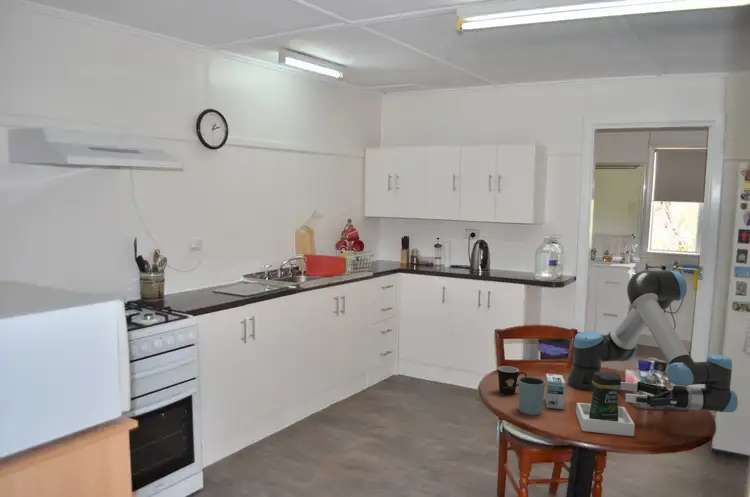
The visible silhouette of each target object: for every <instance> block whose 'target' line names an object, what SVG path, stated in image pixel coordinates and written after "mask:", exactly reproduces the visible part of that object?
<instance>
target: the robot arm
mask: <svg viewBox="0 0 750 497" xmlns="http://www.w3.org/2000/svg"><path fill="white" fill-rule="evenodd" d="M626 288H627V289H626V293H627V297H628V301H629V303H630V304H631V307H632V309H631V310H630V311H629V312H628V314H627V315H626V316H625V318H624V319H623V320H622V321H621V323H620V324H619V325H618V326H616V327H613V328H611V330H610V331H609V332H608V333H607V334H603V333H602V332H599V331H594V330H593V331H591V330H589V331H587V330H586V331H581V332H578V333H577V334H575V337H574V338H573V340H574V341H573V355H572V356H573V357H572V367H571V369H570V372H569V375H568V377H567V385H569V386H570V387H572V388H574V389H578V390H581V391H582V390H583V391H588V392H589V391H590V392H591V391H592V392H593V384H592V378H593V374H594V372H602V362H603V363H605V362H606V363H607V362H608V363H611V362H627V361H630V360H632V359H634V357H635V356H636V354H637V349H638V343H637V339H638V337H639V336H641V335H642V333H643V332H644V331H645V329H646V328H647V329H648V330H649V332H650V334H651V335H652V337H653V339H654V341H655V342H656V344H657V345H658V347H659V349H660V350H661V352H662V355H663V356H664V358H665V360H666V361H667V363H668V366H667V369H666V374H667V377H668V380H669V381H670V382H671V383H672V384H673V385H674V386H672V389H668V387H667V386H665V385H658V384H654V383H653V384H652V383H649V382H648V383H646V382H643V381H637V383H635V382H626V381H625V382H624V381H621V387H620V389H619V391H620V390H621V391H622V390H623V391H629V392H630V391H631V392H636V393H638V392H643V393H646V394H645V395H643V394H635V393H634V394H633V393H625V400H624V401H625V403H633V404H635V403H637V404H644V405H645V404H646V405H649V406H650V407H656V408H657V407H668V406H671V407H672V406H673V407H674V408H678V409H679V408H680V409H686V408H687V409H689V410H693V411H696V410H700V411H701V410H702V411H709V412H710V411H711V412H718V413H734V412H735V411H737V409H738V404H739V401H738V394H737V393H736V392H735V391H734V390H731V385H732V382H731V381H732V372H733V360H732V358H730V357H729V356H726V355H724V354H723V355H722V354H716V353H715V354H714V353H713V354H709V355H707V357H706V361H694V359H693V357H692V356H691V355H690V353H689V351H688V350H687V348H686V346H685V344H684V343H683V341H682V340H681V338H680V335H678V333H677V331H676V329H675V328H674V327H673V325H672V323H671V321H670V320H669V317H667V315H666V314H665V312H664V310H666V309H667V308H669V307H670V305H671V304H672V303H673V302H674V301H676V302H677V301H681V300H683V299H684V298H685V297H686V295H687V293H688V286H687V281H686V278H685V276H683V274H682V273H680V272H679V271H676V270H671V269H670V270H642V271H641V270H640V271H639V272H636V273H634V275H632V276H631V278H630V279H629V281H628V284H627V287H626ZM690 385H691V386H690ZM693 385H704V386H705V387H698V386H696V387H695V386H693ZM686 386H687V387H686Z"/></svg>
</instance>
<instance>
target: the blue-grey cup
mask: <svg viewBox="0 0 750 497" xmlns="http://www.w3.org/2000/svg"><path fill="white" fill-rule="evenodd" d="M517 384H518V386H517V387H518V410H519V411H520V412H521V413H523V414H525V415H530V416H537V415H540V414H542V412H543V405H544V398H545V389H546V380H544V379H542V378H539V377H536V376H527V377H526V376H520V377H518V378H517Z"/></svg>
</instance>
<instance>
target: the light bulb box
mask: <svg viewBox="0 0 750 497" xmlns="http://www.w3.org/2000/svg"><path fill="white" fill-rule="evenodd" d="M544 400H545V404H546V408H548V409H558V410H565V402H566V401H565V400H566V380H565V378H564V377H563V375H562V374H555V373H545V390H544Z"/></svg>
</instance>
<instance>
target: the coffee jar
mask: <svg viewBox="0 0 750 497" xmlns="http://www.w3.org/2000/svg"><path fill="white" fill-rule="evenodd" d="M621 382H622V378H621V375H620V374H618V373H617V372H615V371H601V372H594V374H593V378H592V384H593V391H592V395H591V396H592V397H591V402H590V404H591V407H590V413H589V419H598V420H608V421H617V422H618V407H619V391H620V390H619V389H620V387H621Z"/></svg>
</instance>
